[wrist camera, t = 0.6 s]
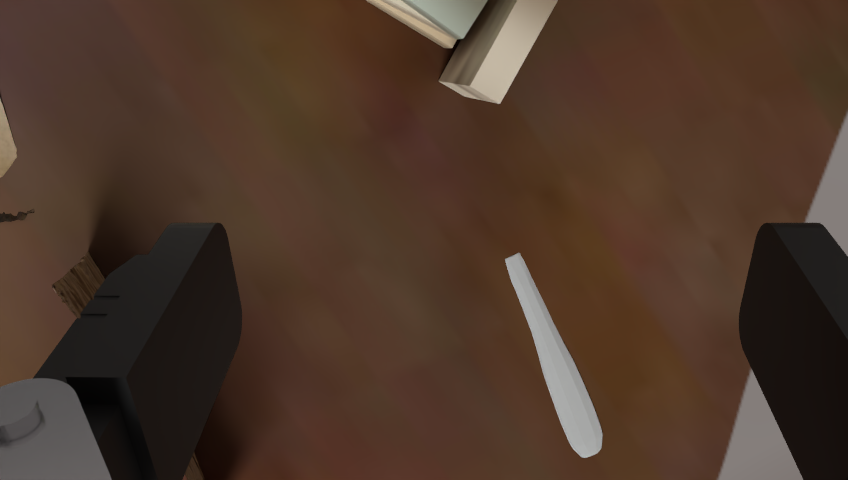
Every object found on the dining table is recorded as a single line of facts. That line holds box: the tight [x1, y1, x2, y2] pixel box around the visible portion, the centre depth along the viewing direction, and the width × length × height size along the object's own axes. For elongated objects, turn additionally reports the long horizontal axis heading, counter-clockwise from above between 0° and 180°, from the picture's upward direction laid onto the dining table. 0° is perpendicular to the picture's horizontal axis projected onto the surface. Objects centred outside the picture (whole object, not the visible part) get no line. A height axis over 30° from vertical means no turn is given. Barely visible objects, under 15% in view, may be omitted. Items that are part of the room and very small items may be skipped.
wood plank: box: [52, 252, 204, 480], centre depth 36 cm, size 15×2×5 cm, turn 21°
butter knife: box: [505, 253, 602, 458], centre depth 40 cm, size 1×27×3 cm
